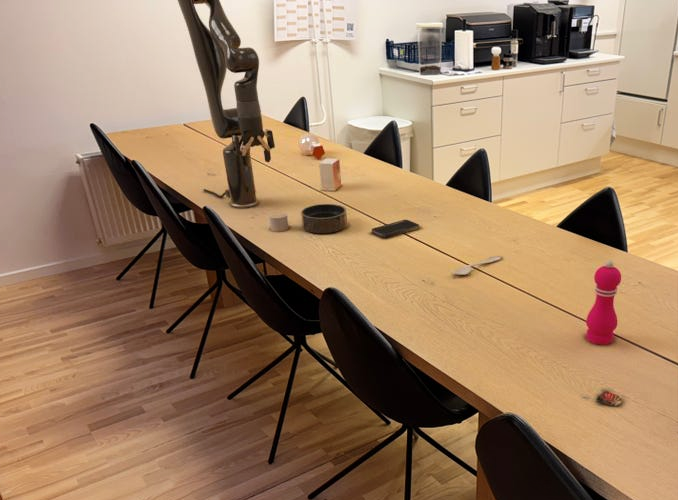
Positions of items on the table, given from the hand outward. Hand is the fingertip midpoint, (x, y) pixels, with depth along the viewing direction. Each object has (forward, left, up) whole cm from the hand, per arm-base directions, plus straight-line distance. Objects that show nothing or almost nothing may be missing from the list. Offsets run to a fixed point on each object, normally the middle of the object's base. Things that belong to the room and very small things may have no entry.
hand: (256, 164), depth 232 cm
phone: (+46, +23, -17) cm, 54 cm away
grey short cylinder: (+18, -4, -17) cm, 25 cm away
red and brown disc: (+153, -8, -17) cm, 154 cm away
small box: (-8, +35, -17) cm, 40 cm away
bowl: (+27, +8, -17) cm, 33 cm away
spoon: (+86, +21, -17) cm, 90 cm away
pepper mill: (+136, +12, -17) cm, 137 cm away
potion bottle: (-54, +57, -17) cm, 81 cm away
